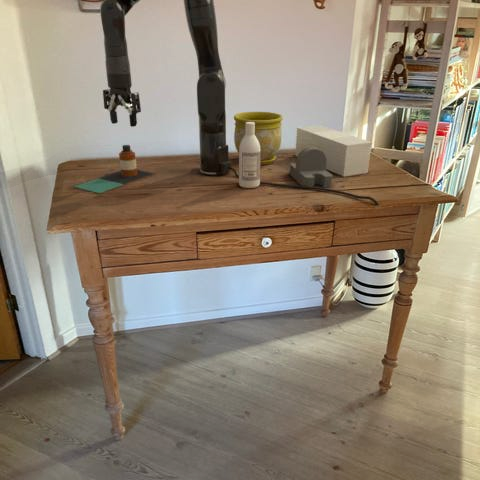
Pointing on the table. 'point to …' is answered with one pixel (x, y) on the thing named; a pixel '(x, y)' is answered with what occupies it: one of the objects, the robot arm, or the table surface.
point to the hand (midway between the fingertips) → (123, 124)
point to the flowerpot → (261, 132)
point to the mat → (110, 182)
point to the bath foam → (249, 158)
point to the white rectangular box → (336, 149)
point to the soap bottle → (127, 162)
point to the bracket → (311, 168)
